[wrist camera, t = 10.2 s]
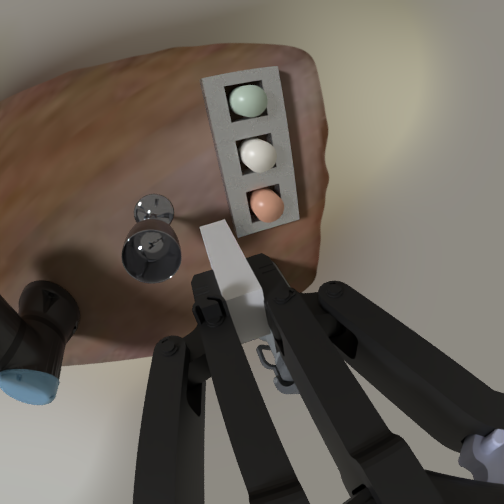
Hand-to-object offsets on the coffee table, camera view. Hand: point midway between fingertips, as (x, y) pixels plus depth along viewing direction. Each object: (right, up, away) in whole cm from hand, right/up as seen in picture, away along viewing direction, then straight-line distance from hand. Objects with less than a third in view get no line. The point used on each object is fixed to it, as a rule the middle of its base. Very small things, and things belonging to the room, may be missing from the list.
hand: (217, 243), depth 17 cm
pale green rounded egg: (+1, +24, +25) cm, 34 cm away
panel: (+2, +17, +30) cm, 34 cm away
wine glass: (-15, +6, +31) cm, 35 cm away
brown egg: (+4, +9, +34) cm, 36 cm away
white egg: (+2, +16, +30) cm, 34 cm away
